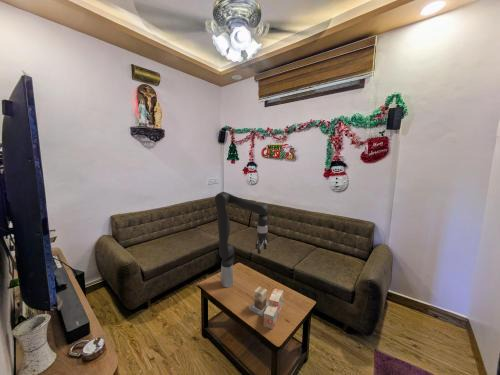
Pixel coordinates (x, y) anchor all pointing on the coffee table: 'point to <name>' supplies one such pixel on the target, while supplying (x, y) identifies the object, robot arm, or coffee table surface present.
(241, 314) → the coffee table surface
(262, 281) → the coffee table surface
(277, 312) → the stack of blocks
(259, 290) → the maple block
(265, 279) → the coffee table surface
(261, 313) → the build board
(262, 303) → the walnut block
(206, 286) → the coffee table surface
